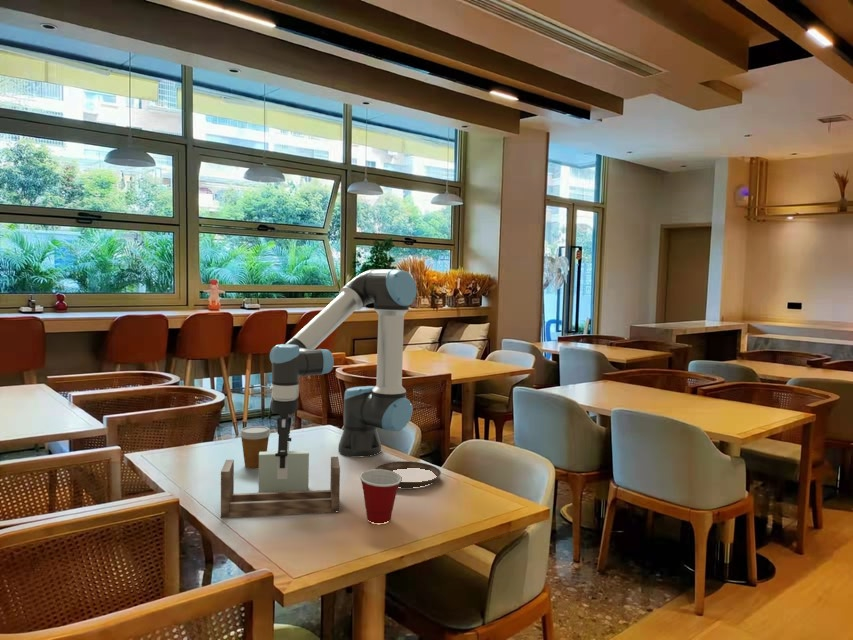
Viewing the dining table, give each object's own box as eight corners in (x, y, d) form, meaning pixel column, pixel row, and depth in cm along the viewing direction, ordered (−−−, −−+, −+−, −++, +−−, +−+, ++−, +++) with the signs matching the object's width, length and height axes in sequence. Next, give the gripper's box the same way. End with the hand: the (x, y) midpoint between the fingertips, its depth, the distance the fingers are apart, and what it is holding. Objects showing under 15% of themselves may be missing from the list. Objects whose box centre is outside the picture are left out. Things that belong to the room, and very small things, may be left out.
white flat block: (308, 486, 180) (308, 450, 179) (308, 490, 177) (308, 453, 176) (259, 488, 177) (259, 451, 177) (258, 492, 175) (258, 454, 174)
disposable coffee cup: (265, 470, 193) (265, 433, 192) (235, 469, 193) (235, 432, 192) (273, 461, 203) (273, 426, 202) (245, 460, 203) (245, 425, 202)
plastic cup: (384, 533, 149) (385, 485, 148) (349, 522, 155) (350, 476, 154) (409, 519, 158) (410, 474, 158) (375, 509, 164) (376, 465, 163)
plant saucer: (421, 467, 202) (422, 457, 202) (453, 487, 184) (453, 476, 184) (363, 475, 193) (363, 464, 192) (390, 497, 174) (390, 485, 174)
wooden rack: (337, 498, 171) (338, 456, 171) (339, 512, 162) (340, 467, 161) (225, 503, 166) (226, 459, 165) (220, 517, 156) (220, 471, 155)
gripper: (273, 390, 187) (272, 458, 188) (268, 407, 162) (266, 485, 164) (298, 390, 188) (297, 458, 190) (297, 407, 164) (295, 485, 165)
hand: (283, 471), depth 177 cm, fingers open, 13 cm apart
